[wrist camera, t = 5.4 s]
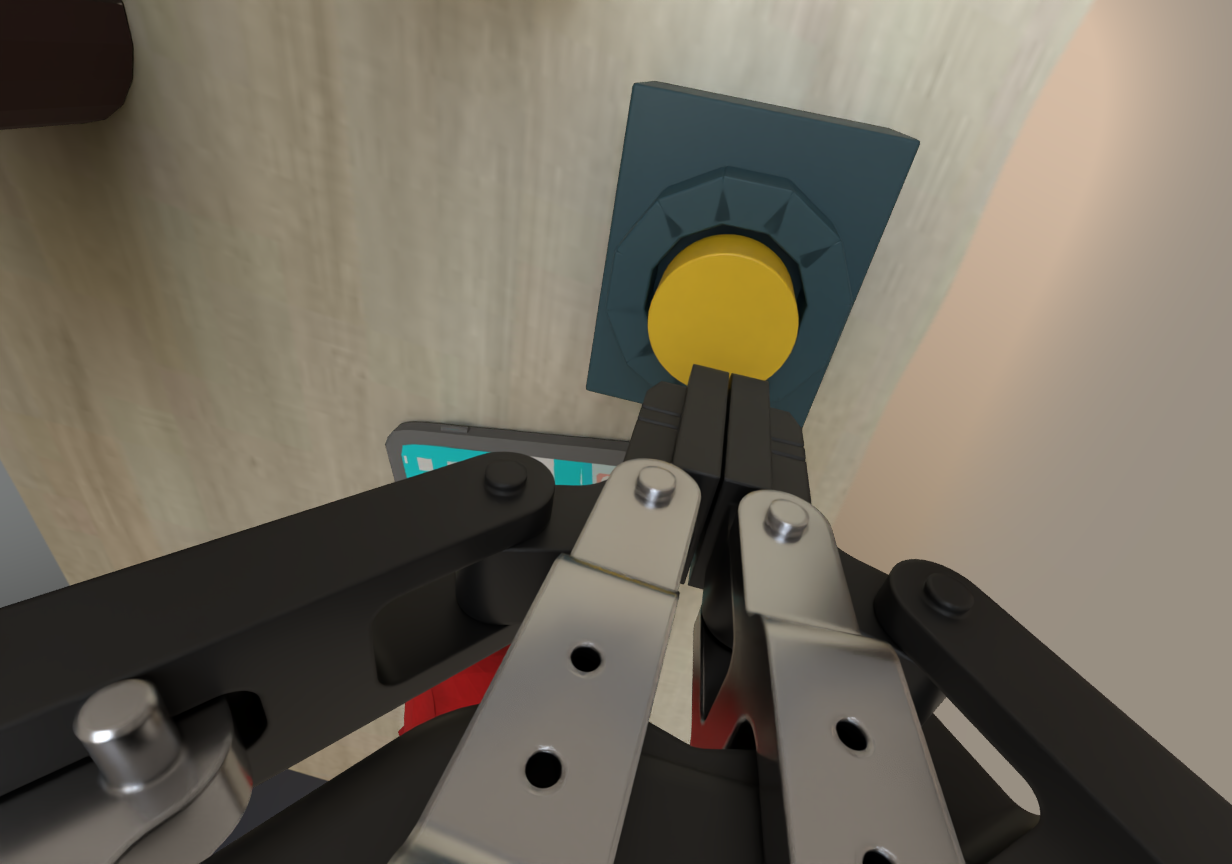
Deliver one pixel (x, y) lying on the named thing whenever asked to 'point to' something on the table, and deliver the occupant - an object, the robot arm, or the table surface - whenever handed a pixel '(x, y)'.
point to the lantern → (62, 61)
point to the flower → (453, 692)
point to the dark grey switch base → (742, 221)
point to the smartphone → (501, 450)
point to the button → (724, 309)
